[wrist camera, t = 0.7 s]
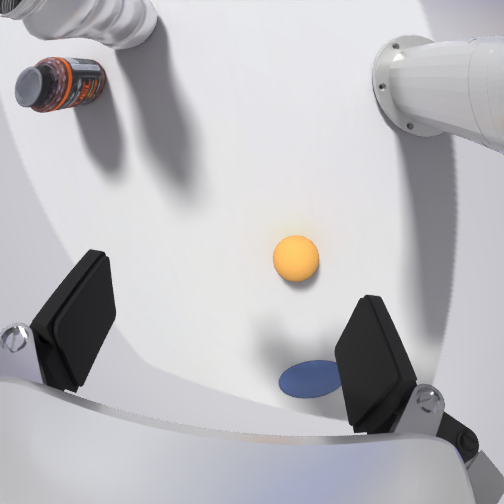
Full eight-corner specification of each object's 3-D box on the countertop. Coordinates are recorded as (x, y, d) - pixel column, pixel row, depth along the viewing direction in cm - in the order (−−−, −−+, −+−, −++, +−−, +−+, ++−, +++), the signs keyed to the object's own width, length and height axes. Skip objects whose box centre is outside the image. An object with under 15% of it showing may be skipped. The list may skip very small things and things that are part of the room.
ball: (312, 223, 36) (319, 245, 31) (317, 260, 38) (324, 286, 34) (268, 232, 36) (268, 255, 32) (277, 268, 39) (278, 294, 34)
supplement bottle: (92, 112, 29) (33, 128, 19) (61, 93, 27) (1, 104, 17) (115, 70, 26) (58, 69, 17) (83, 52, 25) (22, 49, 15)
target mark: (344, 354, 48) (345, 355, 48) (345, 391, 54) (345, 391, 54) (273, 367, 50) (273, 368, 50) (284, 401, 56) (284, 402, 56)
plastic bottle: (174, 18, 23) (74, -45, 6) (134, 62, 26) (6, 54, 9) (138, -7, 21) (29, -62, 4) (100, 36, 24) (-28, 21, 6)
